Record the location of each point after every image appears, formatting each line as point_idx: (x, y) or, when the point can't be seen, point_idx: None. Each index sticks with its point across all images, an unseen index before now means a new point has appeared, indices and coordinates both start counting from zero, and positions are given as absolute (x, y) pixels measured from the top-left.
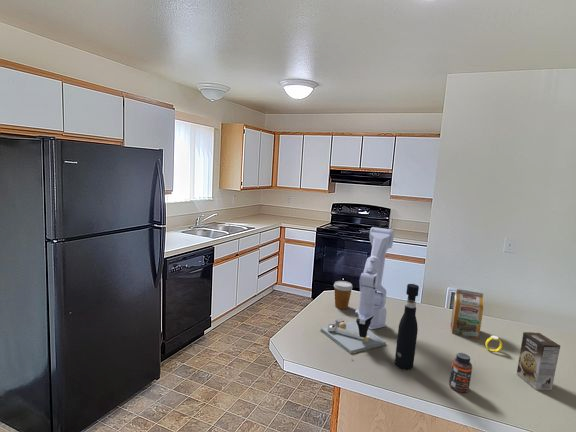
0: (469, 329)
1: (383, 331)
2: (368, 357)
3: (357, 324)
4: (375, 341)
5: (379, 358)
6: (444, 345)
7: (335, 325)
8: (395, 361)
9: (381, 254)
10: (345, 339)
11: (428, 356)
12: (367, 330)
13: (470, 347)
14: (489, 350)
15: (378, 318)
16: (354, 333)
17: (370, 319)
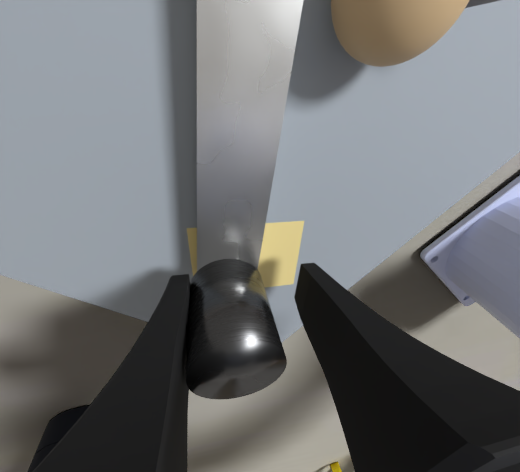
0: None
1: (405, 303)
2: (10, 324)
3: (50, 454)
4: None
5: (66, 362)
6: (330, 430)
7: None
8: (56, 433)
9: None
10: (94, 110)
11: (235, 433)
12: (300, 314)
13: (337, 450)
14: (331, 466)
15: (505, 326)
16: (218, 213)
17: (357, 463)
